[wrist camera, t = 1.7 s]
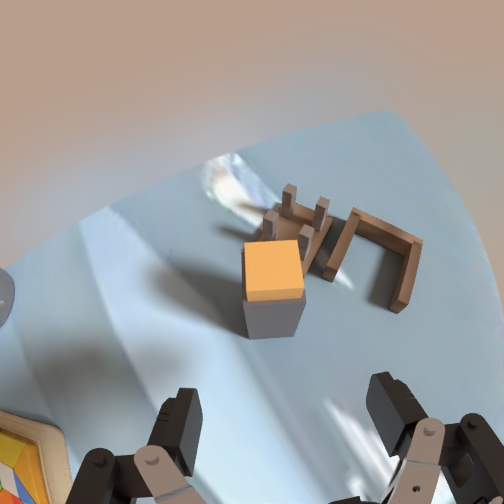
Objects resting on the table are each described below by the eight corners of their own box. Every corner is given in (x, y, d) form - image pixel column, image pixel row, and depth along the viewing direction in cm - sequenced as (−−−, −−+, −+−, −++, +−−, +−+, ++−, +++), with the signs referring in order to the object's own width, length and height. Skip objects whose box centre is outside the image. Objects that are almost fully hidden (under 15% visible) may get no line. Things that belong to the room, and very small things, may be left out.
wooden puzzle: (-20, 402, 19) (-36, 397, 16) (67, 427, 19) (47, 425, 16) (-2, 507, 9) (-18, 508, 6) (97, 556, 10) (82, 565, 7)
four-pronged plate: (250, 254, 29) (248, 225, 25) (285, 204, 33) (287, 173, 29) (303, 280, 27) (310, 253, 23) (332, 224, 31) (340, 194, 27)
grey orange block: (249, 339, 24) (241, 296, 16) (247, 299, 27) (239, 239, 18) (293, 336, 24) (310, 291, 16) (289, 296, 27) (300, 235, 18)
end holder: (321, 277, 27) (326, 265, 25) (348, 221, 31) (353, 207, 29) (397, 313, 25) (408, 304, 23) (414, 252, 29) (423, 240, 26)
